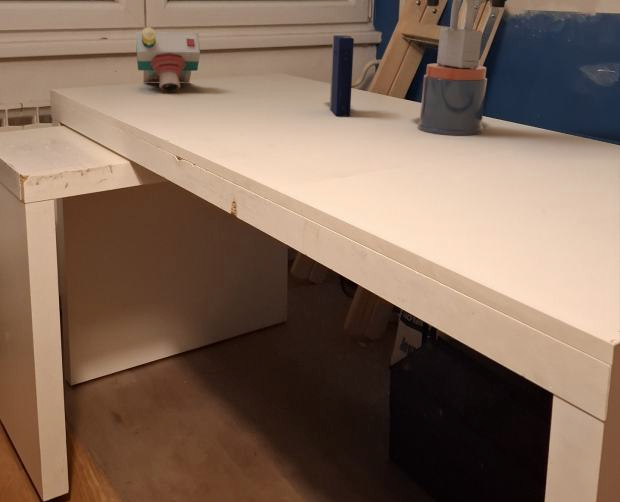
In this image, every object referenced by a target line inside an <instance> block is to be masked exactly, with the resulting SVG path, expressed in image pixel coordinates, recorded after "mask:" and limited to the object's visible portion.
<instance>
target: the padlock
mask: <svg viewBox="0 0 620 502" xmlns="http://www.w3.org/2000/svg"><path fill="white" fill-rule="evenodd" d="M465 1H466V14H465V15H466V16H465V22H464V29H463V28H459V27H458V26H459V17H460V8H461V4H462V2H463V0H452V5H451V10H450V11H451V12H450V22H449V28H446V27H441V28H440V30H439V38H438V39H439V40H438V48H437V59H436V63H438V64H443V65H444V66H446V65H448V66H450V67H453V66H454V67H459V68H460V69H462V68H475V69H476V68H478V66H479V63H480V55H481V45H482V38H483V31H481V30H480V29H479V30H475V29H474V21H475V13H476V0H465Z"/></svg>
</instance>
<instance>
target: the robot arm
mask: <svg viewBox="0 0 620 502" xmlns="http://www.w3.org/2000/svg"><path fill="white" fill-rule="evenodd" d="M507 1H508V0H491V7H493V8H500V9H501V8H505V6H506V2H507ZM439 4H440V0H426V5H427V6H428V7H438V6H439Z"/></svg>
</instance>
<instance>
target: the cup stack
mask: <svg viewBox="0 0 620 502" xmlns="http://www.w3.org/2000/svg"><path fill="white" fill-rule="evenodd" d="M486 76H487V67H486V66H484V65H478V68H476V69H475V68H462V69H460V68H459V67H454V66H453V67H450V66H448V65H446V66H444V65H443V64H438V63H437V62H436V63H428V64H426V71H425V74H424V75H423V82H422V92H421V93H422V94H421V103H420V104H421V105H420V114H419V122H417V124H416V125H417V127H416V128H417V129H418V130H419V131H422V132H426V133H429V134H435V135H436V134H437V135H446V136H474V135H475V136H476V135H479V134H481V133H483V131H484V126H482V125H483V124H482V123H483V117H484V109H485V102H486V101H485V99H486V92H487V84H488V78H487V77H486Z"/></svg>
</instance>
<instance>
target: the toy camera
mask: <svg viewBox="0 0 620 502" xmlns="http://www.w3.org/2000/svg"><path fill="white" fill-rule="evenodd" d="M154 29H155V28H153V27H150V26H147V27H143V30H142V31H136V32H135V34H136V35H135V38H136V40H135V42H136V44H135V45H136V46H135V47H136V62H137V71H143V79H142V81H143V83H158V84H159V85H158V86H159V87H158V88H160V89H161V90H162V91H166V92H174V91H178V90H179V89H180V88H181V83H190V81H191V75H192V71H198V69H199V62H200V57H201V48H200V35H199V33H198V32H170V31H169V32H168V31H165V32H164V31H155V30H154Z"/></svg>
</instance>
